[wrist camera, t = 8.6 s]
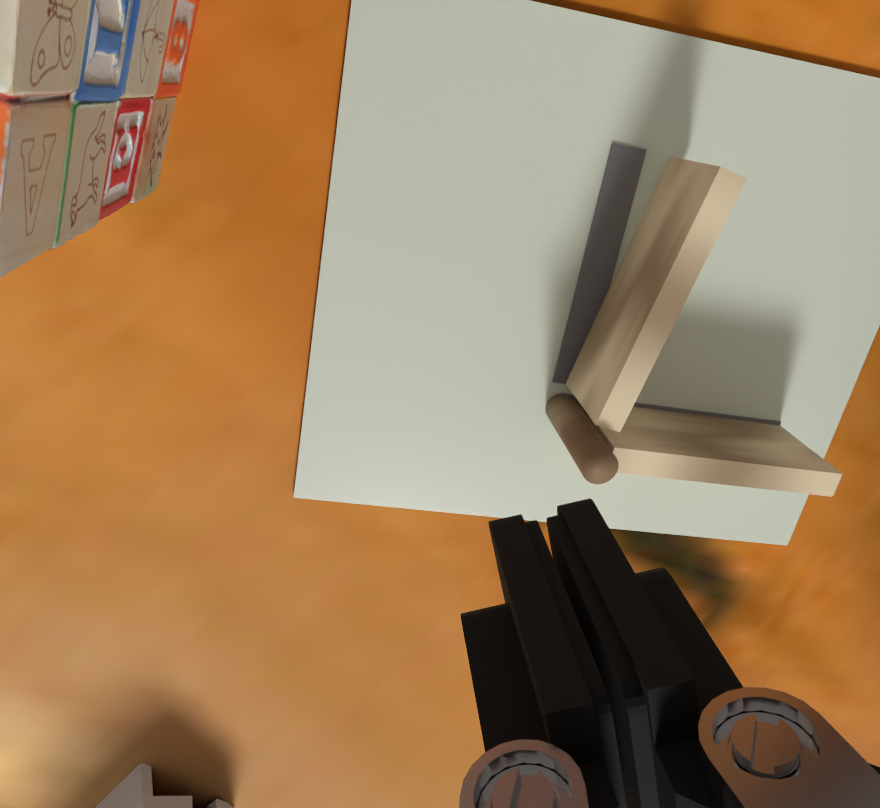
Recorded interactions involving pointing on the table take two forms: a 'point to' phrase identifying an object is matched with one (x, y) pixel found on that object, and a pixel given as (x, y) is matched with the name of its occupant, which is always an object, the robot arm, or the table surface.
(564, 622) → the robot arm
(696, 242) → the panel
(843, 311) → the card
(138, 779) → the grey piece
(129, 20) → the stack of blocks
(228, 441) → the table surface
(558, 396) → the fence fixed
